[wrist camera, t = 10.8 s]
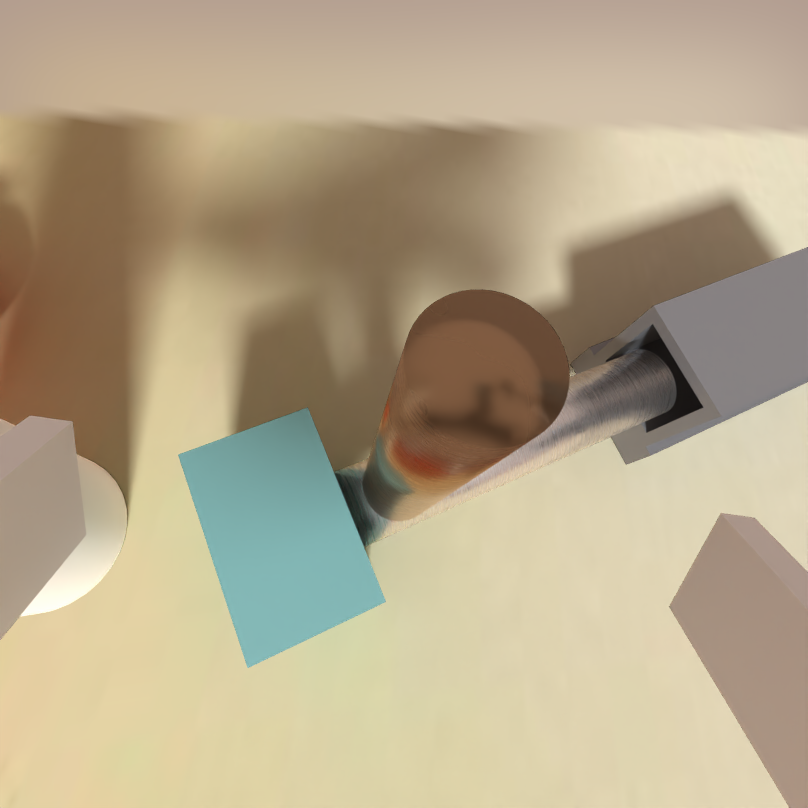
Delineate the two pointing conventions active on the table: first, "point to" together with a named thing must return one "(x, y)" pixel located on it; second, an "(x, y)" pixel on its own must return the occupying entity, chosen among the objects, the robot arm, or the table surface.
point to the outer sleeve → (718, 350)
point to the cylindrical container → (86, 538)
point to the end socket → (279, 534)
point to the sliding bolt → (488, 410)
